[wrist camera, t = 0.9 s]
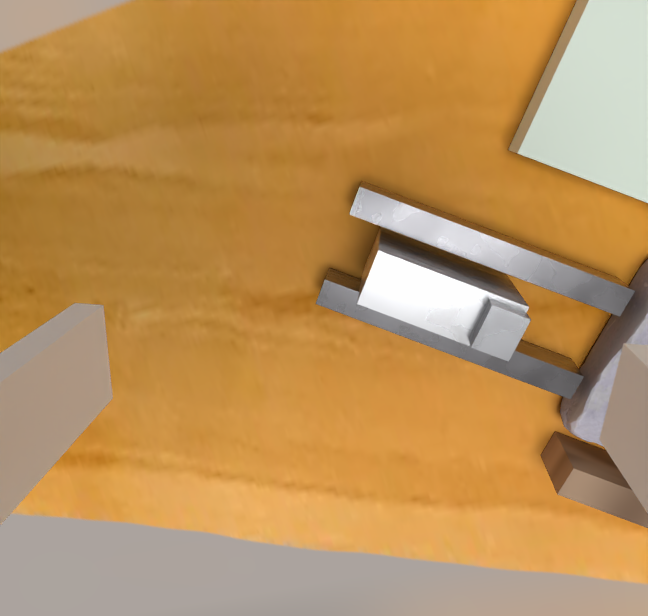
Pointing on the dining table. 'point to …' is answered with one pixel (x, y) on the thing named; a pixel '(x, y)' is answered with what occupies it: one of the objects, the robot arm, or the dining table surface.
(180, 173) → the dining table surface
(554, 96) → the pale green ledge block
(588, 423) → the stone block
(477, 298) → the grey metal block
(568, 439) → the brown piece
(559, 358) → the guide
